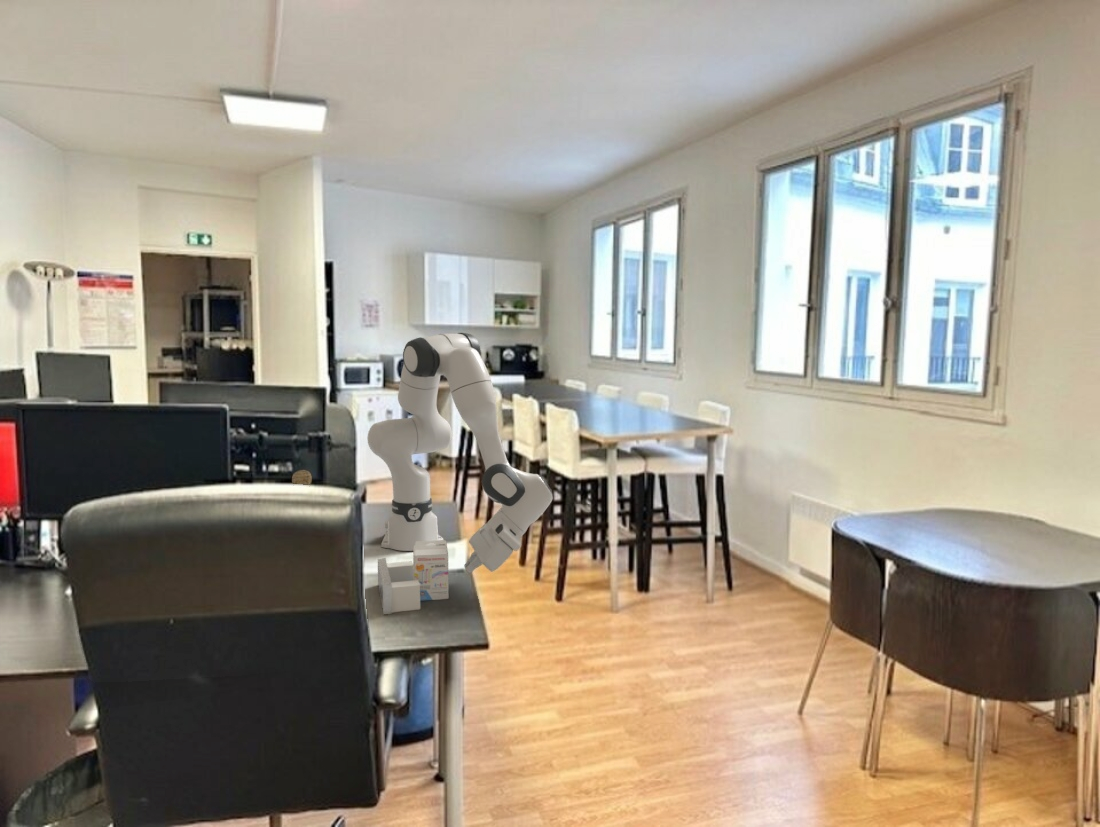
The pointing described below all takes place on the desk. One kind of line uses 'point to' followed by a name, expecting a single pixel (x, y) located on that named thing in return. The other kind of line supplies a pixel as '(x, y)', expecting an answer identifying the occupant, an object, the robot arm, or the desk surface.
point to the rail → (385, 586)
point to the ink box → (431, 569)
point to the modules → (404, 587)
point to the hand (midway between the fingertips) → (466, 569)
